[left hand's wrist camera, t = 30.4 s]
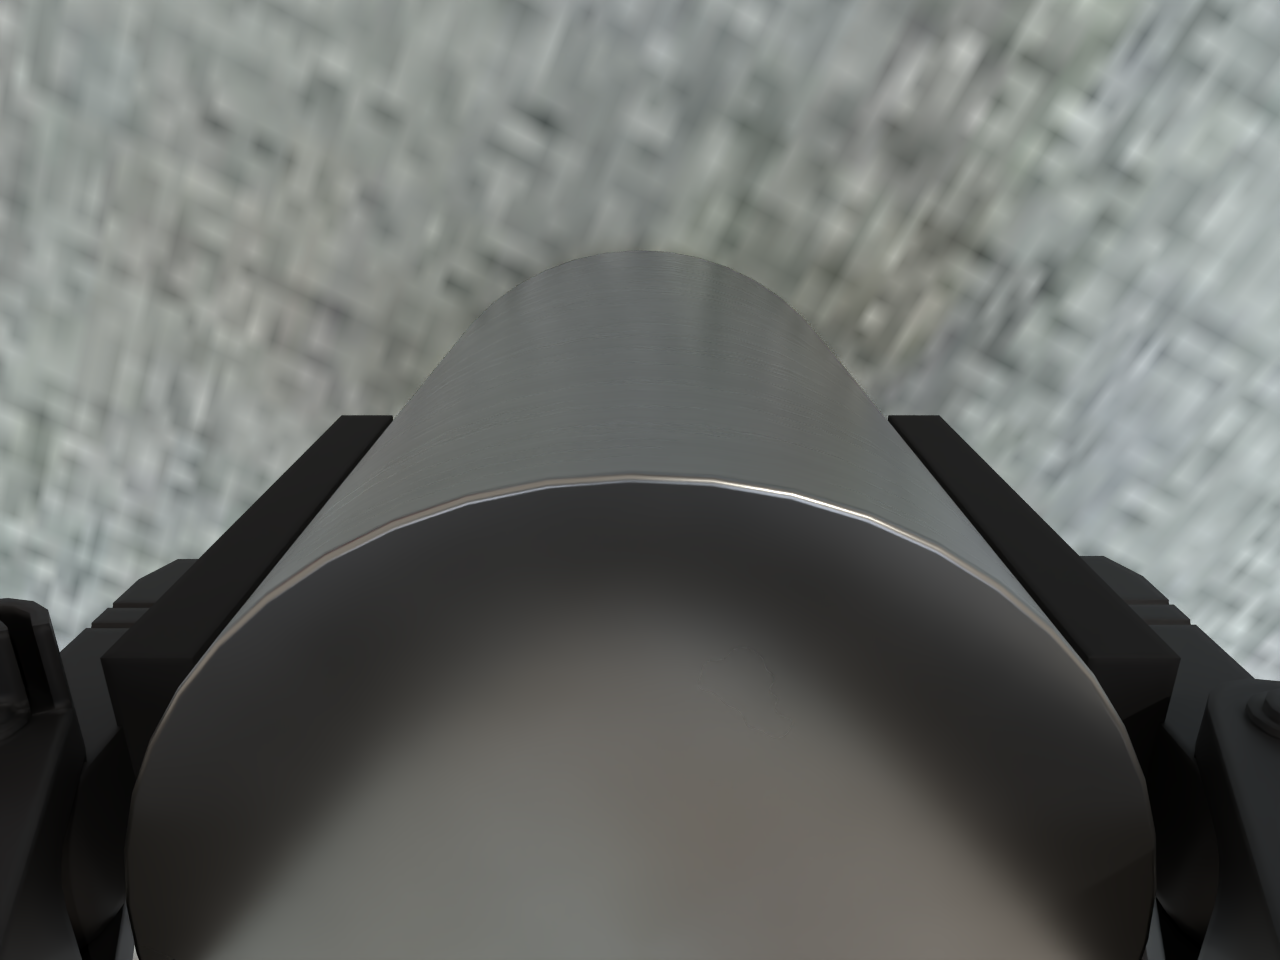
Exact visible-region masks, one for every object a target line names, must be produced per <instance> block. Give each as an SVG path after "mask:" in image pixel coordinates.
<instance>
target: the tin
mask: <svg viewBox="0 0 1280 960" xmlns="http://www.w3.org/2000/svg"><path fill="white" fill-rule="evenodd" d="M124 864H125V892H126V906H127V911H128V915H129V920H130V925H131V930H132V934H133V939H134V944H135V949H136V953H137V956H138V958H139V960H1142V957H1143V954H1144V951H1145V948H1146V945H1147V942H1148V938H1149V932H1150V926H1151V920H1152V914H1153V908H1154V902H1155V896H1156V890H1157V882H1156V833H1155V827H1154V822H1153V817H1152V812H1151V807H1150V801H1149V796H1148V791H1147V786H1146V780H1145V777H1144V775H1143V772H1142V769H1141V767H1140V764H1139V762H1138V759H1137V756H1136V754H1135V751H1134V749H1133V746H1132V743H1131V741H1130V738H1129V736H1128V733H1127V730H1126V728H1125V725H1124V724H1123V722H1122V720H1121V719H1120V717H1119V715H1118V714H1117V712H1116V710H1115V709H1114V707H1113V705H1112V704H1111V702H1110V700H1109V699H1108V697H1107V695H1106V694H1105V692H1104V690H1103V689H1102V687H1101V685H1100V684H1099V682H1098V680H1097V679H1096V677H1095V675H1094V674H1093V673H1092V671H1091V670H1090V669H1089V668H1088V667H1087V665H1086V664H1085V663H1084V662H1083V660H1082V659H1081V658H1080V657H1079V655H1078V654H1077V653H1076V652H1075V651H1074V649H1073V648H1072V647H1071V646H1070V644H1069V643H1068V642H1067V641H1066V639H1065V638H1064V637H1063V636H1062V635H1061V633H1060V632H1059V631H1058V630H1057V628H1056V627H1055V626H1054V625H1053V623H1052V622H1051V621H1050V620H1049V619H1048V617H1047V616H1046V615H1045V614H1044V612H1043V611H1042V610H1041V609H1040V607H1039V606H1038V605H1037V604H1036V603H1035V601H1034V600H1033V599H1032V598H1031V596H1030V595H1029V594H1028V593H1027V591H1026V590H1025V589H1024V588H1023V587H1022V585H1021V584H1020V583H1019V582H1018V580H1017V579H1016V578H1015V577H1014V575H1013V574H1012V573H1011V572H1010V571H1009V569H1008V568H1007V567H1006V566H1005V564H1004V563H1003V562H1002V561H1001V559H1000V558H999V557H998V556H997V555H996V553H995V552H994V551H993V550H992V548H991V547H990V546H989V545H988V543H987V542H986V541H985V540H984V539H983V537H982V536H981V535H980V534H979V532H978V531H977V530H976V529H975V527H974V526H973V525H972V524H971V523H970V521H969V520H968V519H967V518H966V516H965V515H964V514H963V513H962V511H961V510H960V509H959V508H958V507H957V505H956V504H955V503H954V502H953V500H952V499H951V498H950V497H949V495H948V494H947V493H946V492H945V490H944V489H943V488H942V487H941V486H940V484H939V483H938V482H937V481H936V479H935V478H934V477H933V476H932V474H931V473H930V472H929V471H928V470H927V468H926V467H925V466H924V465H923V463H922V462H921V461H920V460H919V458H918V457H917V456H916V455H915V454H914V452H913V451H912V450H911V449H910V447H909V446H908V445H907V444H906V442H905V441H904V440H903V439H902V438H901V436H900V435H899V434H898V433H897V431H896V430H895V429H894V428H893V426H892V425H891V424H890V423H889V422H888V420H887V419H886V418H885V417H884V415H883V414H882V413H881V412H880V410H879V409H878V408H877V407H876V406H875V404H874V403H873V402H872V401H871V399H870V398H869V397H868V396H867V394H866V393H865V392H864V391H863V390H862V388H861V387H860V386H859V385H858V383H857V382H856V381H855V380H854V378H853V377H852V376H851V375H850V374H849V372H848V371H847V370H846V369H845V367H844V366H843V365H842V364H841V362H840V361H839V360H838V359H837V358H836V356H835V355H834V354H833V353H832V351H831V350H830V349H829V348H828V346H827V345H826V344H825V343H824V342H823V340H822V339H821V338H820V337H819V336H818V334H817V333H816V332H815V331H814V330H813V328H812V327H811V326H810V325H809V324H808V323H807V321H806V320H805V319H804V318H803V317H802V316H801V315H800V314H799V313H798V312H796V311H795V310H794V309H793V308H792V307H791V306H790V305H789V304H787V303H786V302H785V301H784V300H783V299H782V298H781V297H779V296H778V295H776V294H775V293H773V292H772V291H770V290H769V289H767V288H766V287H764V286H763V285H761V284H760V283H758V282H757V281H755V280H753V279H751V278H749V277H747V276H745V275H743V274H741V273H738V272H736V271H734V270H732V269H730V268H728V267H725V266H722V265H719V264H716V263H713V262H710V261H707V260H704V259H701V258H697V257H692V256H686V255H681V254H676V253H670V252H657V251H637V250H636V251H624V252H612V253H603V254H599V255H594V256H590V257H585V258H581V259H576V260H573V261H570V262H567V263H564V264H562V265H559V266H556V267H554V268H551V269H548V270H545V271H543V272H542V273H540V274H538V275H536V276H534V277H532V278H530V279H528V280H527V281H525V282H523V283H521V284H519V285H517V286H516V287H515V288H513V289H512V290H510V291H509V292H508V293H506V294H505V295H504V296H502V297H501V298H499V299H498V300H497V301H495V302H494V303H493V304H492V305H491V306H490V307H489V308H487V309H486V310H485V311H484V312H483V313H482V314H481V315H480V316H479V317H478V318H477V319H476V320H475V321H474V322H473V323H472V324H471V325H470V326H469V328H468V329H467V330H466V331H465V333H464V334H463V335H462V336H461V337H460V339H459V340H458V341H457V342H456V344H455V345H454V346H453V347H452V349H451V350H450V351H449V352H448V354H447V355H446V356H445V357H444V358H443V360H442V361H441V362H440V363H439V365H438V366H437V367H436V368H435V370H434V371H433V372H432V373H431V375H430V376H429V377H428V378H427V379H426V381H425V382H424V383H423V384H422V386H421V387H420V388H419V389H418V391H417V392H416V393H415V394H414V395H413V397H412V398H411V399H410V400H409V402H408V403H407V404H406V405H405V407H404V408H403V409H402V410H401V412H400V413H399V414H398V415H397V416H396V418H395V419H394V420H393V421H392V423H391V424H390V425H389V426H388V428H387V429H386V430H385V431H384V432H383V434H382V435H381V436H380V437H379V439H378V440H377V441H376V442H375V444H374V445H373V446H372V447H371V449H370V450H369V451H368V452H367V453H366V455H365V456H364V457H363V458H362V460H361V461H360V462H359V463H358V465H357V466H356V467H355V468H354V470H353V471H352V472H351V473H350V474H349V476H348V477H347V478H346V479H345V481H344V482H343V483H342V484H341V486H340V487H339V488H338V489H337V490H336V492H335V493H334V494H333V495H332V497H331V498H330V499H329V500H328V502H327V503H326V504H325V505H324V507H323V508H322V509H321V510H320V511H319V513H318V514H317V515H316V516H315V518H314V519H313V520H312V521H311V523H310V524H309V525H308V526H307V527H306V529H305V530H304V531H303V532H302V534H301V535H300V536H299V537H298V539H297V540H296V541H295V542H294V544H293V545H292V546H291V547H290V548H289V550H288V551H287V552H286V553H285V555H284V556H283V557H282V558H281V560H280V561H279V562H278V563H277V565H276V566H275V567H274V568H273V569H272V571H271V572H270V573H269V574H268V576H267V577H266V578H265V579H264V581H263V582H262V583H261V584H260V585H259V587H258V588H257V589H256V590H255V592H254V593H253V594H252V595H251V597H250V598H249V599H248V600H247V602H246V603H245V604H244V605H243V606H242V608H241V609H240V610H239V611H238V613H237V614H236V615H235V616H234V618H233V619H232V620H231V621H230V622H229V624H228V625H227V626H226V627H225V629H224V630H223V631H222V632H221V634H220V635H219V636H218V637H217V639H216V640H215V641H214V642H213V644H212V645H211V646H210V648H209V649H208V650H207V651H206V653H205V654H204V655H203V656H202V658H201V659H200V660H199V662H198V663H197V664H196V665H195V667H194V668H193V669H192V671H191V672H190V673H189V674H188V676H187V677H186V678H185V680H184V681H183V682H182V683H181V685H180V686H179V687H178V689H177V691H176V692H175V694H174V696H173V698H172V700H171V702H170V704H169V705H168V707H167V709H166V711H165V713H164V715H163V717H162V718H161V720H160V722H159V724H158V726H157V728H156V730H155V731H154V733H153V735H152V737H151V739H150V741H149V744H148V747H147V750H146V753H145V756H144V759H143V762H142V765H141V768H140V771H139V774H138V777H137V780H136V783H135V786H134V789H133V792H132V798H131V805H130V812H129V819H128V826H127V833H126V840H125V847H124Z"/></svg>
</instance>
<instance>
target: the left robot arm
mask: <svg viewBox="0 0 1280 960" xmlns="http://www.w3.org/2000/svg"><path fill="white" fill-rule="evenodd" d="M392 421H393V416H392V415H342V416H341V417H340V418H339V419H338V420H337V421H336V422H335V423H334V424H333V425H332V426H331V427H330V428H329V429H328V430H327V431H326V432H325V433H324V434H323V435H322V436H321V437H320V438H319V439H318V440H317V441H316V442H315V443H314V444H313V445H312V446H311V447H310V448H309V449H308V450H307V451H306V452H305V453H304V454H303V455H302V456H301V457H300V458H299V459H298V460H297V461H296V462H295V463H294V464H293V465H292V466H291V467H290V468H289V469H288V470H287V471H286V472H285V473H284V474H283V475H282V476H281V477H280V478H279V479H278V480H277V481H276V482H275V483H274V484H273V485H272V486H271V487H270V488H269V489H268V490H267V491H266V492H265V493H264V494H263V495H262V496H261V497H260V498H259V499H258V500H257V501H256V502H255V503H254V504H253V505H252V506H251V507H250V508H249V509H248V510H247V511H246V512H245V513H244V514H243V515H242V516H241V517H240V518H239V519H238V520H237V521H236V522H235V523H234V524H233V525H232V526H231V527H230V528H229V529H228V530H227V531H226V532H225V533H224V534H223V535H222V536H221V537H220V538H219V539H218V540H217V541H216V542H215V543H214V544H213V545H212V546H211V547H210V548H209V549H208V550H207V551H206V552H205V553H204V554H203V555H202V556H201V557H200V558H199V559H177V560H175V561H173V562H171V563H170V564H168V565H166V566H164V567H162V568H160V569H158V570H156V571H154V572H152V573H150V574H148V575H146V576H144V577H142V578H141V579H139V580H138V581H136V582H135V583H134V584H133V585H132V586H131V587H130V588H129V589H128V590H127V591H126V592H125V593H124V594H122V595H121V596H120V597H119V598H118V599H117V600H116V601H115V602H114V603H113V608H107V609H106V610H105V611H104V612H103V613H102V614H101V615H100V616H99V617H98V618H96V619H95V620H94V621H93V622H92V626H91V628H86V629H85V630H83V631H82V632H81V633H80V634H79V635H78V636H77V637H76V638H75V639H74V640H73V641H72V642H70V643H69V644H68V645H67V646H66V647H65V648H64V649H63V650H62V651H61V652H59V648H58V645H57V641H56V637H55V634H54V630H53V626H52V623H51V619H50V615H49V612H48V610H47V609H46V608H44V607H42V606H41V605H39V604H37V603H36V602H34V601H27V600H19V599H11V598H4V599H0V960H133V952H134V945H135V944H134V939H133V934H132V930H131V925H130V920H129V915H128V911H127V906H126V892H125V864H124V847H125V840H126V833H127V826H128V819H129V812H130V805H131V798H132V792H133V789H134V786H135V783H136V780H137V777H138V774H139V771H140V768H141V765H142V762H143V759H144V756H145V753H146V750H147V747H148V744H149V741H150V739H151V737H152V735H153V733H154V731H155V730H156V728H157V726H158V724H159V722H160V720H161V718H162V717H163V715H164V713H165V711H166V709H167V707H168V705H169V704H170V702H171V700H172V698H173V696H174V694H175V692H176V691H177V689H178V687H179V686H180V685H181V683H182V682H183V681H184V680H185V678H186V677H187V676H188V674H189V673H190V672H191V671H192V669H193V668H194V667H195V665H196V664H197V663H198V662H199V660H200V659H201V658H202V656H203V655H204V654H205V653H206V651H207V650H208V649H209V648H210V646H211V645H212V644H213V642H214V641H215V640H216V639H217V637H218V636H219V635H220V634H221V632H222V631H223V630H224V629H225V627H226V626H227V625H228V624H229V622H230V621H231V620H232V619H233V618H234V616H235V615H236V614H237V613H238V611H239V610H240V609H241V608H242V606H243V605H244V604H245V603H246V602H247V600H248V599H249V598H250V597H251V595H252V594H253V593H254V592H255V590H256V589H257V588H258V587H259V585H260V584H261V583H262V582H263V581H264V579H265V578H266V577H267V576H268V574H269V573H270V572H271V571H272V569H273V568H274V567H275V566H276V565H277V563H278V562H279V561H280V560H281V558H282V557H283V556H284V555H285V553H286V552H287V551H288V550H289V548H290V547H291V546H292V545H293V544H294V542H295V541H296V540H297V539H298V537H299V536H300V535H301V534H302V532H303V531H304V530H305V529H306V527H307V526H308V525H309V524H310V523H311V521H312V520H313V519H314V518H315V516H316V515H317V514H318V513H319V511H320V510H321V509H322V508H323V507H324V505H325V504H326V503H327V502H328V500H329V499H330V498H331V497H332V495H333V494H334V493H335V492H336V490H337V489H338V488H339V487H340V486H341V484H342V483H343V482H344V481H345V479H346V478H347V477H348V476H349V474H350V473H351V472H352V471H353V470H354V468H355V467H356V466H357V465H358V463H359V462H360V461H361V460H362V458H363V457H364V456H365V455H366V453H367V452H368V451H369V450H370V449H371V447H372V446H373V445H374V444H375V442H376V441H377V440H378V439H379V437H380V436H381V435H382V434H383V432H384V431H385V430H386V429H387V428H388V426H389V425H390V424H391V423H392ZM888 422H889V423H890V424H891V425H892V426H893V428H894V429H895V430H896V431H897V433H898V434H899V435H900V436H901V438H902V439H903V440H904V441H905V442H906V444H907V445H908V446H909V447H910V449H911V450H912V451H913V452H914V454H915V455H916V456H917V457H918V458H919V460H920V461H921V462H922V463H923V465H924V466H925V467H926V468H927V470H928V471H929V472H930V473H931V474H932V476H933V477H934V478H935V479H936V481H937V482H938V483H939V484H940V486H941V487H942V488H943V489H944V490H945V492H946V493H947V494H948V495H949V497H950V498H951V499H952V500H953V502H954V503H955V504H956V505H957V507H958V508H959V509H960V510H961V511H962V513H963V514H964V515H965V516H966V518H967V519H968V520H969V521H970V523H971V524H972V525H973V526H974V527H975V529H976V530H977V531H978V532H979V534H980V535H981V536H982V537H983V539H984V540H985V541H986V542H987V543H988V545H989V546H990V547H991V548H992V550H993V551H994V552H995V553H996V555H997V556H998V557H999V558H1000V559H1001V561H1002V562H1003V563H1004V564H1005V566H1006V567H1007V568H1008V569H1009V571H1010V572H1011V573H1012V574H1013V575H1014V577H1015V578H1016V579H1017V580H1018V582H1019V583H1020V584H1021V585H1022V587H1023V588H1024V589H1025V590H1026V591H1027V593H1028V594H1029V595H1030V596H1031V598H1032V599H1033V600H1034V601H1035V603H1036V604H1037V605H1038V606H1039V607H1040V609H1041V610H1042V611H1043V612H1044V614H1045V615H1046V616H1047V617H1048V619H1049V620H1050V621H1051V622H1052V623H1053V625H1054V626H1055V627H1056V628H1057V630H1058V631H1059V632H1060V633H1061V635H1062V636H1063V637H1064V638H1065V639H1066V641H1067V642H1068V643H1069V644H1070V646H1071V647H1072V648H1073V649H1074V651H1075V652H1076V653H1077V654H1078V655H1079V657H1080V658H1081V659H1082V660H1083V662H1084V663H1085V664H1086V665H1087V667H1088V668H1089V669H1090V670H1091V671H1092V673H1093V674H1094V675H1095V677H1096V679H1097V680H1098V682H1099V684H1100V685H1101V687H1102V689H1103V690H1104V692H1105V694H1106V695H1107V697H1108V699H1109V700H1110V702H1111V704H1112V705H1113V707H1114V709H1115V710H1116V712H1117V714H1118V715H1119V717H1120V719H1121V720H1122V722H1123V724H1124V725H1125V728H1126V730H1127V733H1128V736H1129V738H1130V741H1131V743H1132V746H1133V749H1134V751H1135V754H1136V756H1137V759H1138V762H1139V764H1140V767H1141V769H1142V772H1143V775H1144V777H1145V780H1146V786H1147V791H1148V796H1149V801H1150V807H1151V812H1152V817H1153V822H1154V827H1155V833H1156V882H1157V890H1156V896H1155V902H1154V908H1153V914H1152V920H1151V926H1150V932H1149V938H1148V942H1147V945H1146V948H1145V951H1144V954H1143V957H1142V960H1280V681H1271V680H1260V679H1254V678H1253V677H1252V676H1251V675H1250V674H1249V673H1248V672H1247V671H1246V670H1245V669H1244V668H1242V667H1241V666H1240V665H1239V664H1238V663H1237V662H1236V661H1235V660H1234V659H1233V658H1232V657H1230V656H1229V655H1228V654H1227V653H1226V652H1225V651H1224V650H1223V649H1222V648H1221V647H1220V646H1218V645H1217V644H1216V643H1215V642H1214V641H1213V640H1212V639H1211V638H1210V637H1209V636H1208V635H1206V634H1205V633H1204V632H1203V631H1202V630H1201V629H1200V628H1199V627H1198V626H1197V625H1191V624H1190V619H1189V618H1188V617H1187V616H1186V615H1185V614H1184V613H1182V612H1181V611H1180V610H1179V609H1178V608H1177V607H1176V606H1175V605H1169V600H1168V599H1167V598H1166V597H1165V596H1164V595H1163V594H1162V593H1161V592H1160V591H1158V590H1157V589H1156V588H1155V587H1154V586H1153V585H1152V584H1151V583H1150V582H1149V581H1148V580H1146V579H1145V578H1144V577H1143V576H1141V575H1139V574H1137V573H1136V572H1134V571H1132V570H1130V569H1128V568H1126V567H1124V566H1122V565H1120V564H1118V563H1116V562H1114V561H1112V560H1110V559H1108V558H1106V557H1104V556H1079V555H1078V554H1077V553H1076V552H1075V551H1074V550H1073V549H1072V548H1071V547H1070V546H1069V545H1068V544H1067V543H1066V542H1065V541H1064V540H1063V539H1062V538H1061V537H1060V536H1059V535H1058V534H1057V533H1056V532H1055V531H1054V530H1053V529H1052V528H1051V527H1050V526H1049V525H1048V524H1047V523H1046V522H1045V521H1044V520H1043V519H1042V518H1041V517H1040V516H1039V515H1038V514H1037V513H1036V512H1035V511H1034V510H1033V509H1032V508H1031V507H1030V506H1029V505H1028V504H1027V503H1026V502H1025V501H1024V500H1023V499H1022V498H1021V497H1020V496H1019V495H1018V494H1017V493H1016V492H1015V491H1014V490H1013V489H1012V488H1011V487H1010V486H1009V485H1008V484H1007V483H1006V482H1005V481H1004V480H1003V479H1002V478H1001V477H1000V476H999V475H998V474H997V473H996V472H995V471H994V470H993V469H992V468H991V467H990V466H989V465H988V464H987V463H986V462H985V461H984V460H983V459H982V458H981V457H980V456H979V455H978V454H977V453H976V452H975V451H974V450H973V449H972V448H971V447H970V446H969V445H968V444H967V443H966V442H965V441H964V440H963V439H962V438H961V437H960V436H959V435H958V434H957V433H956V432H955V431H954V430H953V429H952V428H951V427H950V426H949V425H948V424H947V423H946V422H945V421H944V420H943V419H942V418H941V417H940V416H939V415H888Z"/></svg>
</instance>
